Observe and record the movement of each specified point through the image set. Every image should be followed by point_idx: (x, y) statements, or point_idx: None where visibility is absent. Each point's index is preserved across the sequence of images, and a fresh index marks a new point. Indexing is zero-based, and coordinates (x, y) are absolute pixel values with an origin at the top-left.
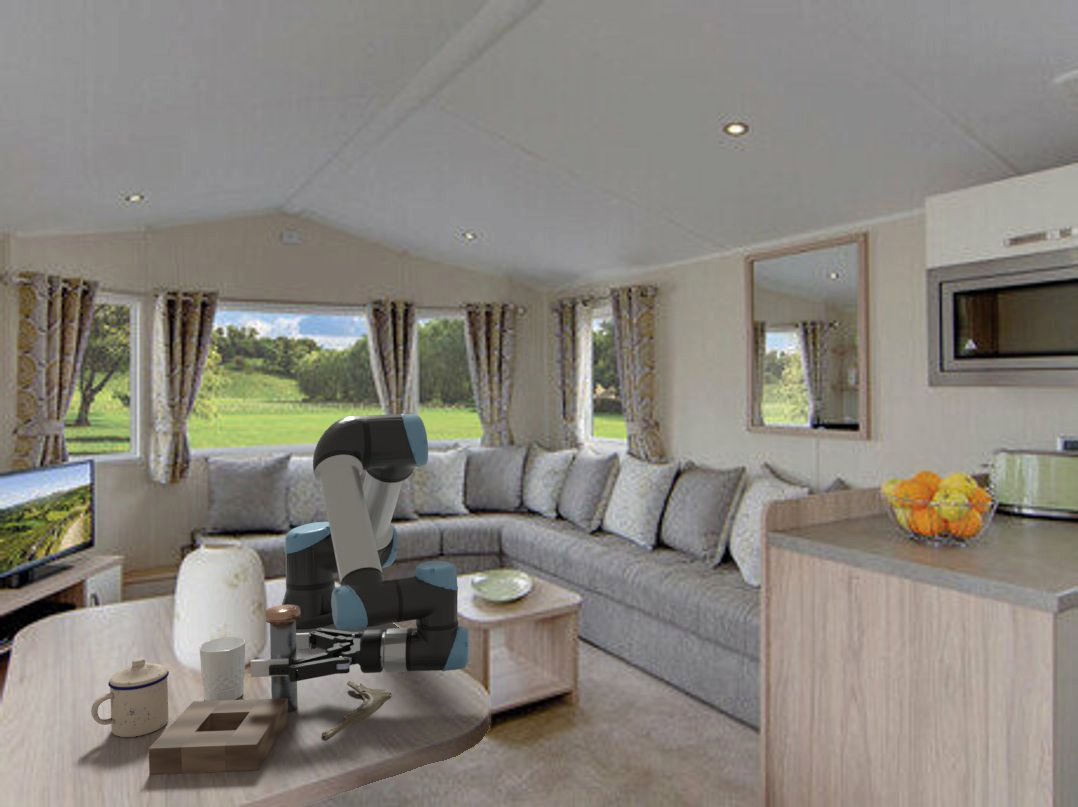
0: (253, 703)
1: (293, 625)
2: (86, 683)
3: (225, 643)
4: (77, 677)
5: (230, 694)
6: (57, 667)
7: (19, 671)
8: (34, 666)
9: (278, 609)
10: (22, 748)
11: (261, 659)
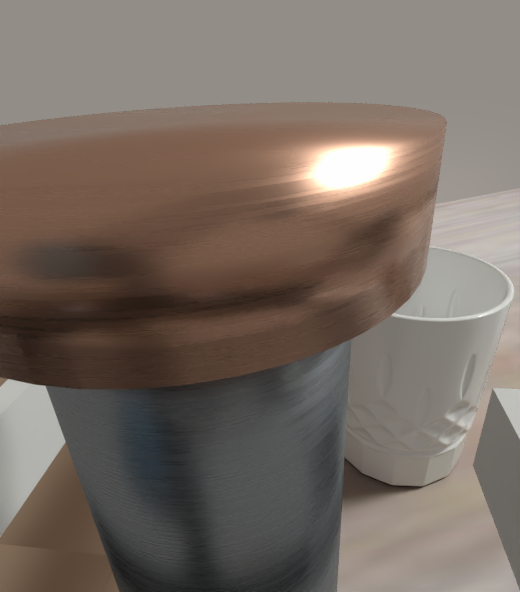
0: (77, 538)
1: (90, 414)
2: (431, 244)
3: (486, 290)
4: (453, 233)
5: (351, 445)
6: (483, 214)
7: (457, 201)
8: (479, 203)
9: (210, 115)
10: None
11: (4, 409)
